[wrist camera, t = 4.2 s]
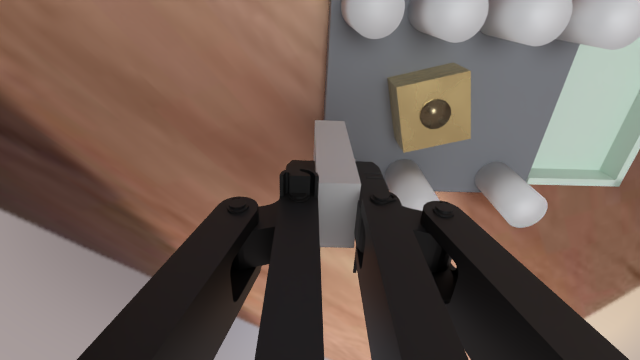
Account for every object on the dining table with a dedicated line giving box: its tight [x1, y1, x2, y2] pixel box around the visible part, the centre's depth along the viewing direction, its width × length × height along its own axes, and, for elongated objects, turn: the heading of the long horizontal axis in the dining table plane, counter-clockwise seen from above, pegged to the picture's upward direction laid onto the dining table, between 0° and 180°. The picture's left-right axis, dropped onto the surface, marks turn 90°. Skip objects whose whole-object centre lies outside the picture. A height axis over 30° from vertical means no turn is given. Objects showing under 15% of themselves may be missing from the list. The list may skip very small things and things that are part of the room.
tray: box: [526, 37, 640, 186], centre depth 26 cm, size 8×13×2 cm, turn 177°
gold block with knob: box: [387, 62, 471, 153], centre depth 23 cm, size 5×5×3 cm
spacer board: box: [324, 0, 640, 228], centre depth 23 cm, size 17×15×7 cm
